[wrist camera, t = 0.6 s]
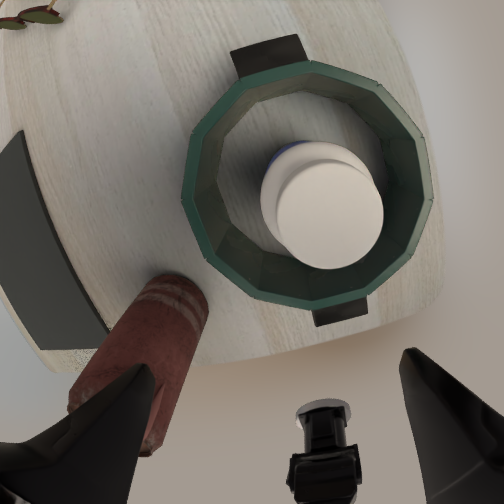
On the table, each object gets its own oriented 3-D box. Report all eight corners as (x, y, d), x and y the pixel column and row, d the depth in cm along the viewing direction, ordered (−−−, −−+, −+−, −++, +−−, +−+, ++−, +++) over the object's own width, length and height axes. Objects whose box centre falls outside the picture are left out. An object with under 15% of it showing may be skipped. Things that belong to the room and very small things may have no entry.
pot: (406, 261, 20) (435, 297, 15) (251, 301, 22) (243, 346, 17) (358, 47, 13) (384, 20, 8) (176, 97, 16) (140, 87, 11)
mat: (118, 343, 27) (116, 347, 26) (42, 347, 31) (40, 350, 30) (23, 129, 17) (19, 130, 17) (-30, 199, 21) (-32, 200, 21)
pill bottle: (264, 213, 19) (251, 284, 10) (267, 137, 17) (254, 138, 8) (339, 218, 19) (384, 290, 10) (346, 143, 17) (409, 155, 8)
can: (226, 309, 23) (183, 461, 10) (177, 336, 25) (124, 460, 12) (179, 256, 21) (84, 394, 9) (134, 291, 23) (50, 407, 11)
